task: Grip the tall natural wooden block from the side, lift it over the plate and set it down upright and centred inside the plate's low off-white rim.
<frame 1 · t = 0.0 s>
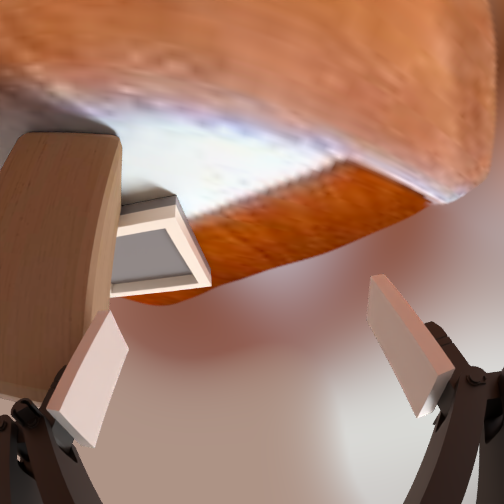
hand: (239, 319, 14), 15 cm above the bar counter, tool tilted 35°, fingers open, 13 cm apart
wooden block: (74, 168, 23), on the bar counter
locating plate: (133, 249, 36), on the bar counter
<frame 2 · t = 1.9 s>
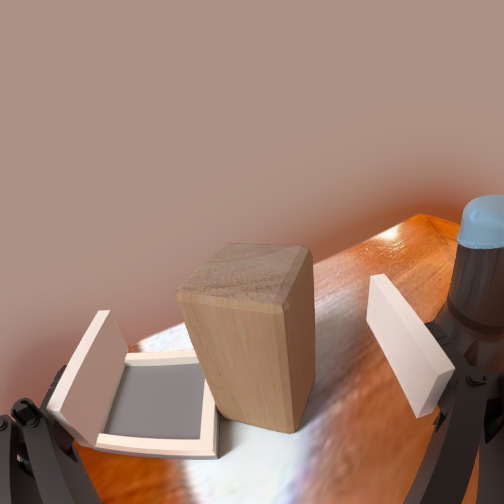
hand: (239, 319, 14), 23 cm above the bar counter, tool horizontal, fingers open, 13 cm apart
wooden block: (269, 399, 34), on the bar counter
locating plate: (160, 406, 35), on the bar counter
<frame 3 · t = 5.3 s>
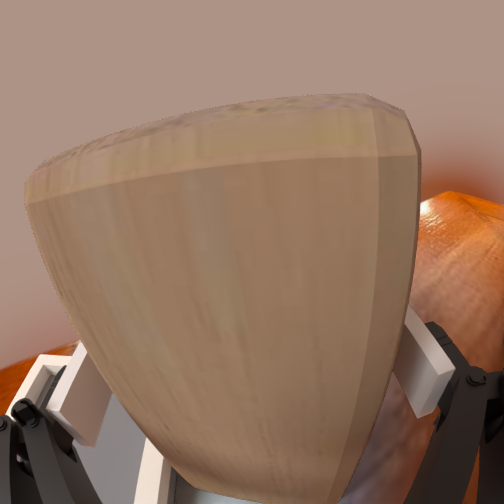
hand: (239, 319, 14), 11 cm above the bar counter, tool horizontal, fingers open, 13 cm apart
wooden block: (275, 446, 17), on the bar counter, touching gripper
locating plate: (85, 445, 17), on the bar counter
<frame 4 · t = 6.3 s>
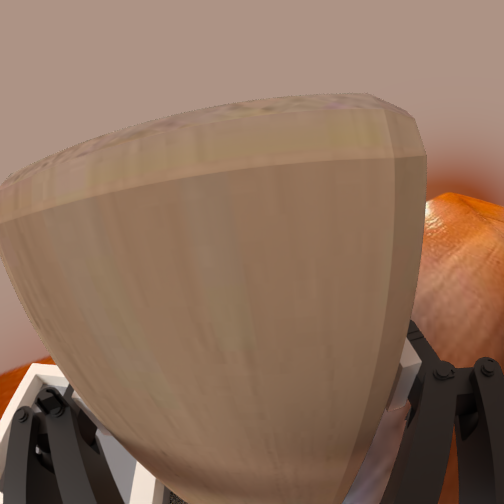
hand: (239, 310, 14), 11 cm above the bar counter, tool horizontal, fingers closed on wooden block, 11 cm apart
wooden block: (267, 454, 17), on the bar counter, touching gripper
locating plate: (78, 457, 16), on the bar counter
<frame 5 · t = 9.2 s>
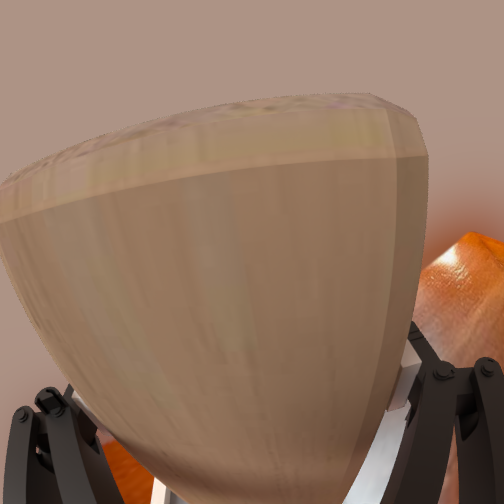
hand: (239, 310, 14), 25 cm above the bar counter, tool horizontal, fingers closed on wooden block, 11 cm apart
wooden block: (267, 455, 17), point 14 cm above the bar counter, touching gripper
when the fingers open (14 cm above the bar counter, at t = 12.2 s): wooden block drops 1 cm, resting on locating plate.
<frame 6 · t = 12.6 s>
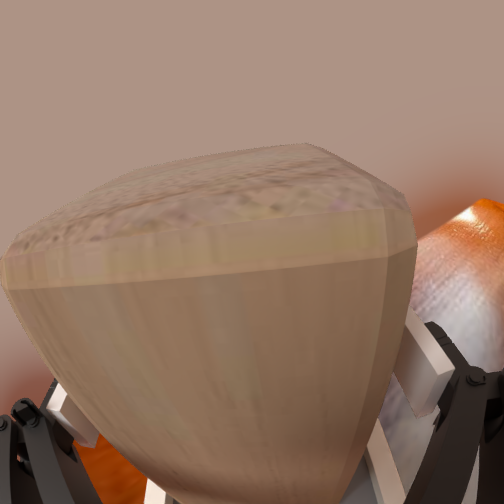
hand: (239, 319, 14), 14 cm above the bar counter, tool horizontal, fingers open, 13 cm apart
wooden block: (264, 463, 17), point 1 cm above the bar counter, touching locating plate
locating plate: (270, 479, 17), on the bar counter
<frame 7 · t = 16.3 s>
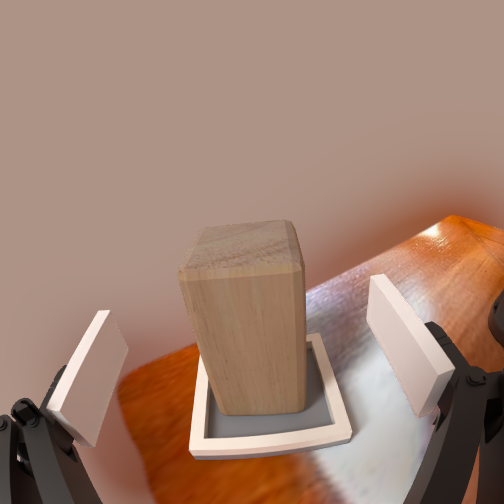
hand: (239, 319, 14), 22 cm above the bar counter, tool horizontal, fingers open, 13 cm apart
wooden block: (263, 387, 34), point 1 cm above the bar counter, touching locating plate
locating plate: (266, 399, 33), on the bar counter
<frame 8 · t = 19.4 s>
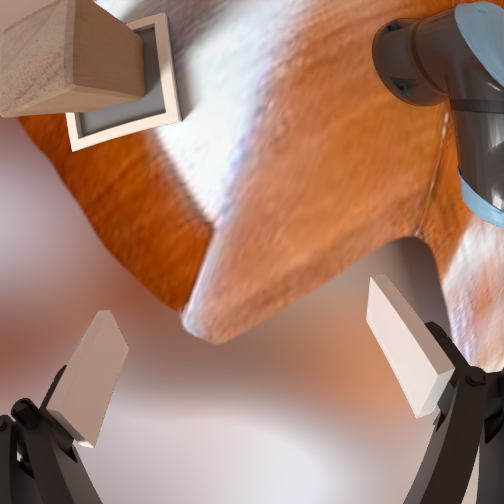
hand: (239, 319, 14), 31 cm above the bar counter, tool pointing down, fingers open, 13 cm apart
wooden block: (114, 74, 32), point 1 cm above the bar counter, touching locating plate
locating plate: (119, 82, 34), on the bar counter
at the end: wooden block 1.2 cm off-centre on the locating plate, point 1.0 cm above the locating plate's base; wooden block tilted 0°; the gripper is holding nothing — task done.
